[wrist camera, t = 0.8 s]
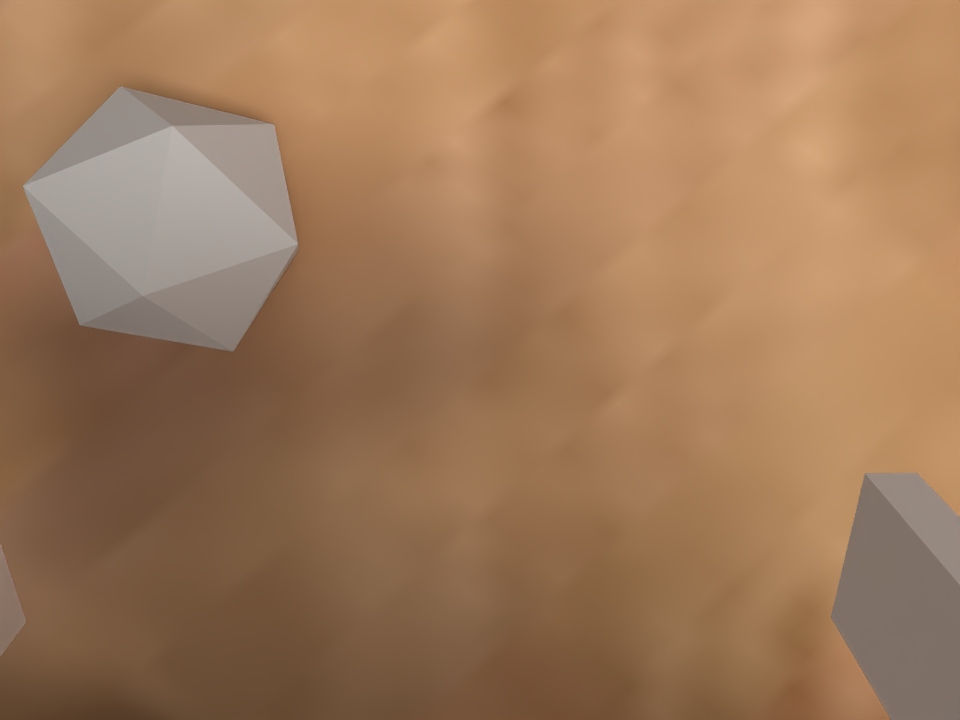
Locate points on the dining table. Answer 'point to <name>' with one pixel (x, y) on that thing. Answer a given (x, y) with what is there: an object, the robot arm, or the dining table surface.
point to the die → (167, 219)
